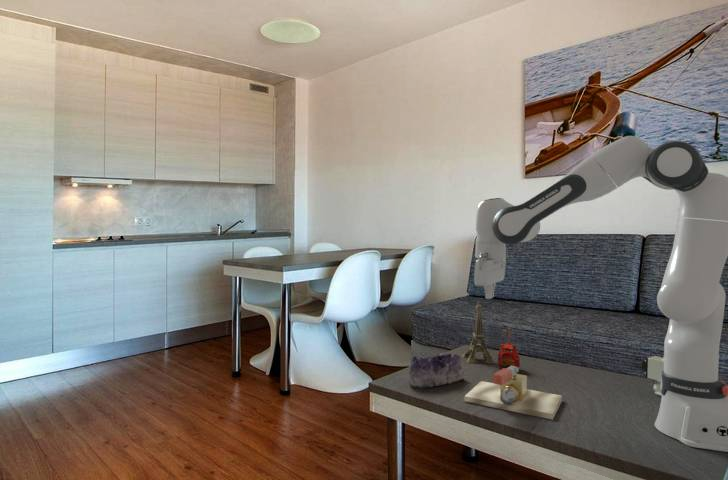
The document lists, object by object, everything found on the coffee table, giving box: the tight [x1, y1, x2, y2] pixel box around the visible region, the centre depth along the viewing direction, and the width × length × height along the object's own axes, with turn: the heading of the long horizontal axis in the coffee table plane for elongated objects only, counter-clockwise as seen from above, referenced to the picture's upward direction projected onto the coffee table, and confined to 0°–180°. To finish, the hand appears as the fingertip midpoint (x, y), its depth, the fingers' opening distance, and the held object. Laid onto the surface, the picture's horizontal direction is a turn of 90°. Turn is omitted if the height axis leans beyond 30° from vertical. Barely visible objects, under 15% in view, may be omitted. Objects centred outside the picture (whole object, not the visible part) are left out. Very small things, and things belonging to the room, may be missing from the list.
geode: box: [408, 353, 465, 389], centre depth 151 cm, size 20×12×10 cm, turn 127°
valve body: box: [500, 373, 528, 405], centre depth 135 cm, size 6×16×6 cm, turn 149°
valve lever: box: [493, 366, 520, 385], centre depth 131 cm, size 13×3×3 cm, turn 142°
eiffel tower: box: [460, 302, 496, 365], centre depth 178 cm, size 11×11×25 cm
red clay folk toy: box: [497, 325, 521, 370], centre depth 166 cm, size 8×7×15 cm
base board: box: [463, 380, 563, 421], centre depth 135 cm, size 24×16×2 cm, turn 59°
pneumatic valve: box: [640, 355, 664, 397], centre depth 141 cm, size 6×12×12 cm, turn 32°
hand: (489, 298), depth 140 cm, fingers closed
